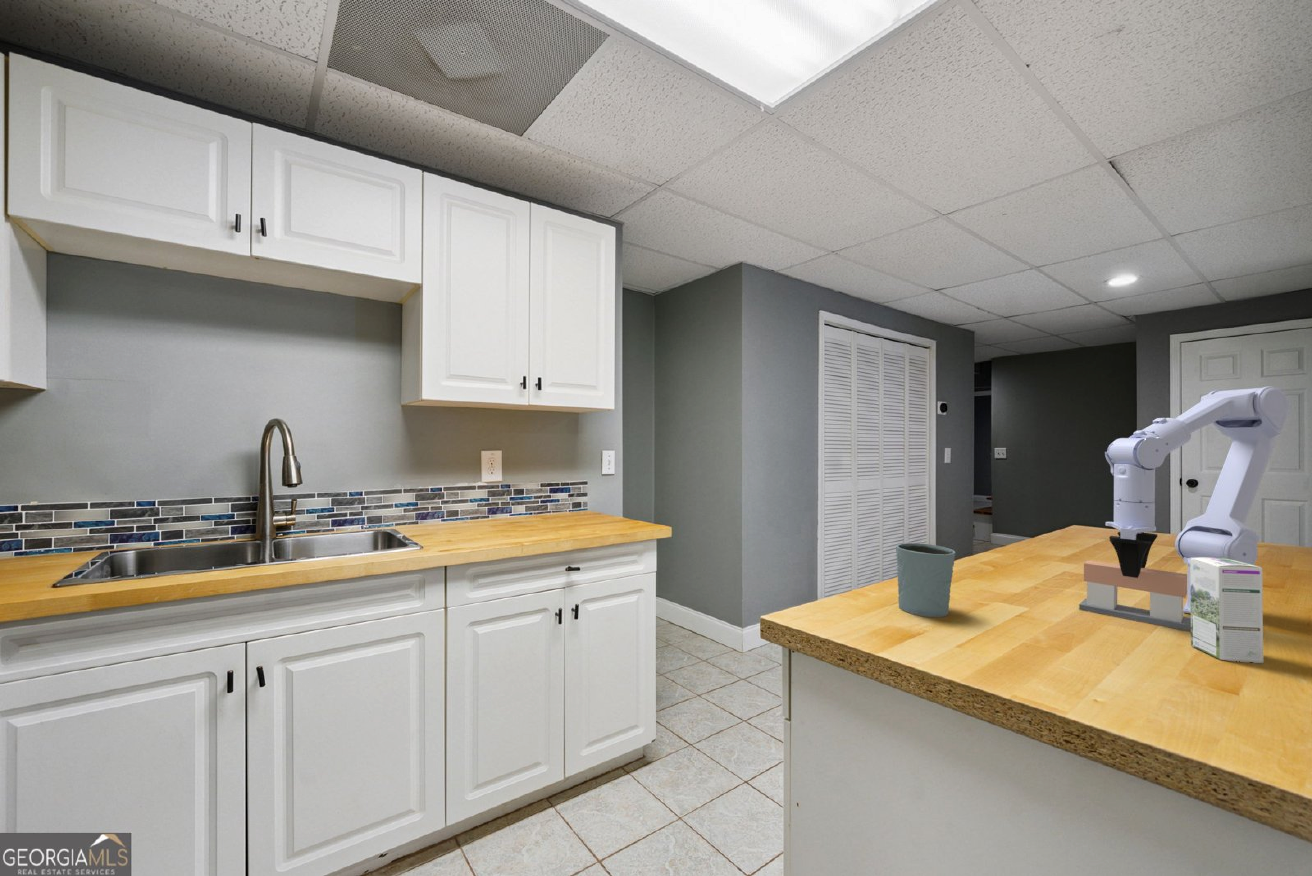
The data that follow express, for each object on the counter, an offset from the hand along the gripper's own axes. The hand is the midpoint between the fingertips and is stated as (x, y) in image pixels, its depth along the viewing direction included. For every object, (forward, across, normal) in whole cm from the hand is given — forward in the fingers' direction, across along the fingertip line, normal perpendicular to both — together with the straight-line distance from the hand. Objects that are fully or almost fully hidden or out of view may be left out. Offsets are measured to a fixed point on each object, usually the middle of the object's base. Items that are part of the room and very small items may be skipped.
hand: (1133, 573), depth 98 cm
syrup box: (+8, +13, +12) cm, 20 cm away
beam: (+3, 0, 0) cm, 3 cm away
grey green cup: (+8, +27, -27) cm, 39 cm away
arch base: (+8, 0, 0) cm, 8 cm away
